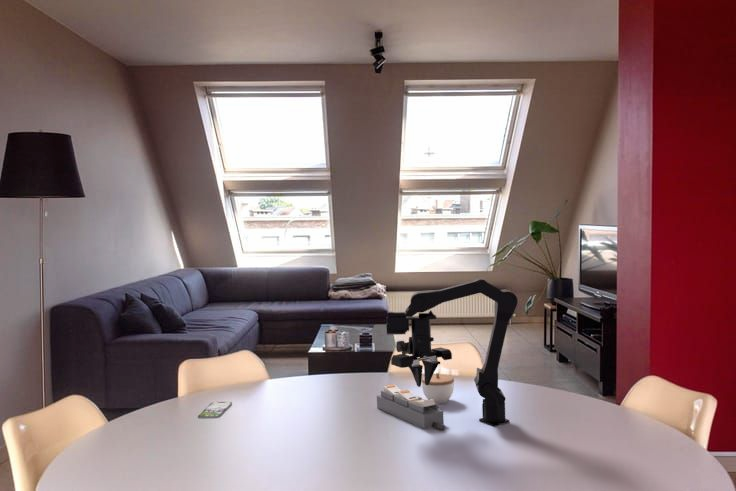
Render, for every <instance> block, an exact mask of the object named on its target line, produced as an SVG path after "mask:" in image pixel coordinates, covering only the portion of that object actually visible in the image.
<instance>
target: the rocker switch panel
mask: <svg viewBox="0 0 736 491" xmlns="http://www.w3.org/2000/svg"><path fill="white" fill-rule="evenodd" d="M416 396H417V397H418V398H419V400H421V399H423V398H422V397H421V396H418V395H416ZM394 398H395V399H394ZM376 408H377V409H378V410H380V411H383V412H385V413H388V414H390V415H392V416H395V418H396V417H397V418H399V419H401V420H403V421H406V422H408V423H410V424H412V425H414V426H416V427H419V428H421V429H422V430H426V429H431V428H435V429H438V430H439V431H444V430H445V425H444V424H445V423H444V421H445V420H444V411H443V410H441V409H440V408H439V404H437V403H435V405H431V406H426V407H422V406H420V405H417V404H415V403H412V402H409V403H408V401H407V400H405V399H402V398H400V397H397V396H394V395H392V394H390V393H387V392H385V391H384V390H380V394H378V395H376Z"/></svg>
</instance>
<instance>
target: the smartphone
mask: <svg viewBox="0 0 736 491" xmlns="http://www.w3.org/2000/svg"><path fill="white" fill-rule="evenodd" d="M232 406H233V402H232V401H214V402H210V404H208V406H207V407H205V409H204V410H202V412H201V413H200V414H199V415H197V418H198V419H218V418H221V417H222V416H223V415H224V414H225V413H226V412H227V411H228V410H229V409H230V408H231V407H232Z"/></svg>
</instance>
